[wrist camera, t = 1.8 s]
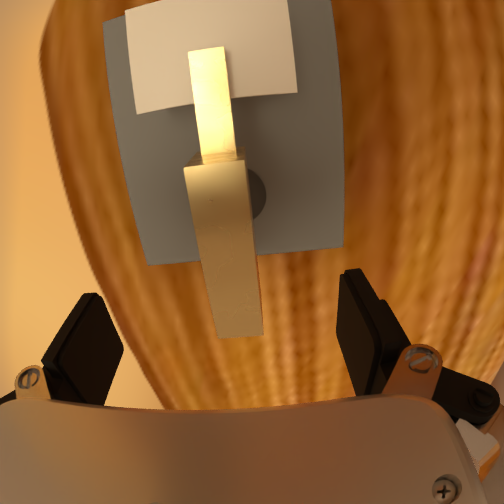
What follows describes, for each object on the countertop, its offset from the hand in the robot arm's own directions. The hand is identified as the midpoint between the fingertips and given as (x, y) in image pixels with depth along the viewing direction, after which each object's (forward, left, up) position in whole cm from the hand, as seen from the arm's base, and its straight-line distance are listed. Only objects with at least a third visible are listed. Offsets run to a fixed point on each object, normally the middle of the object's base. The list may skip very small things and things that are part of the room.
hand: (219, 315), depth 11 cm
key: (0, -3, -12) cm, 12 cm away
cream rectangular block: (0, -11, -12) cm, 16 cm away
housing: (0, -5, -14) cm, 15 cm away
